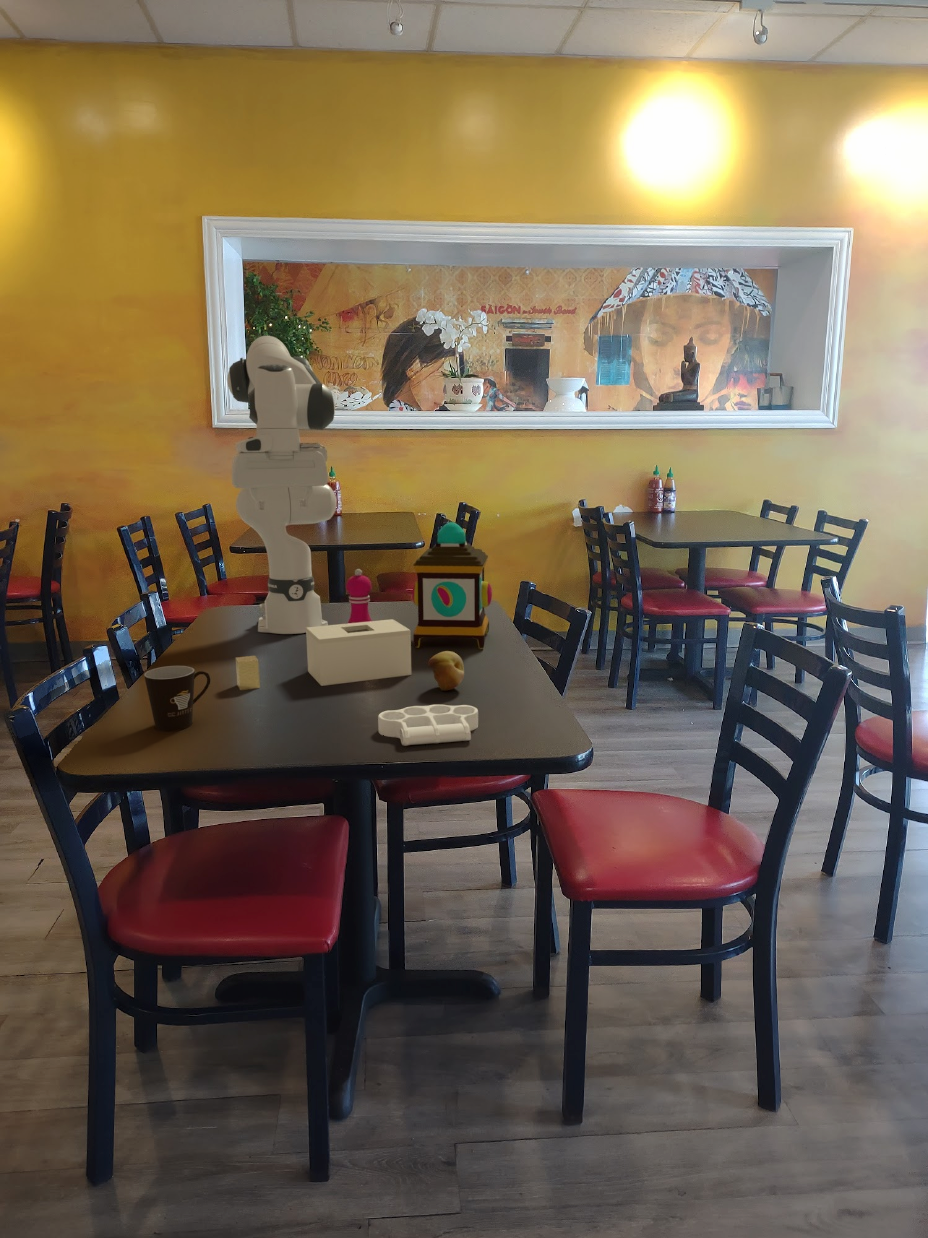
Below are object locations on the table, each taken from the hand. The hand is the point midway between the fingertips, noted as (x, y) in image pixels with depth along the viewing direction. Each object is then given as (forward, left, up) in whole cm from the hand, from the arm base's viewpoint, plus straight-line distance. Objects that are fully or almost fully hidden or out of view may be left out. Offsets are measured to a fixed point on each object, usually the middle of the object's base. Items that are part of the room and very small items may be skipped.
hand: (282, 508), depth 185 cm
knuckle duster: (+51, +14, -36) cm, 64 cm away
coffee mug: (+29, -26, -36) cm, 53 cm away
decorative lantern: (-9, +43, -36) cm, 57 cm away
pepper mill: (-9, +19, -36) cm, 42 cm away
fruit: (+29, +26, -36) cm, 53 cm away
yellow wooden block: (+10, -11, -36) cm, 39 cm away
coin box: (+10, +13, -36) cm, 39 cm away
